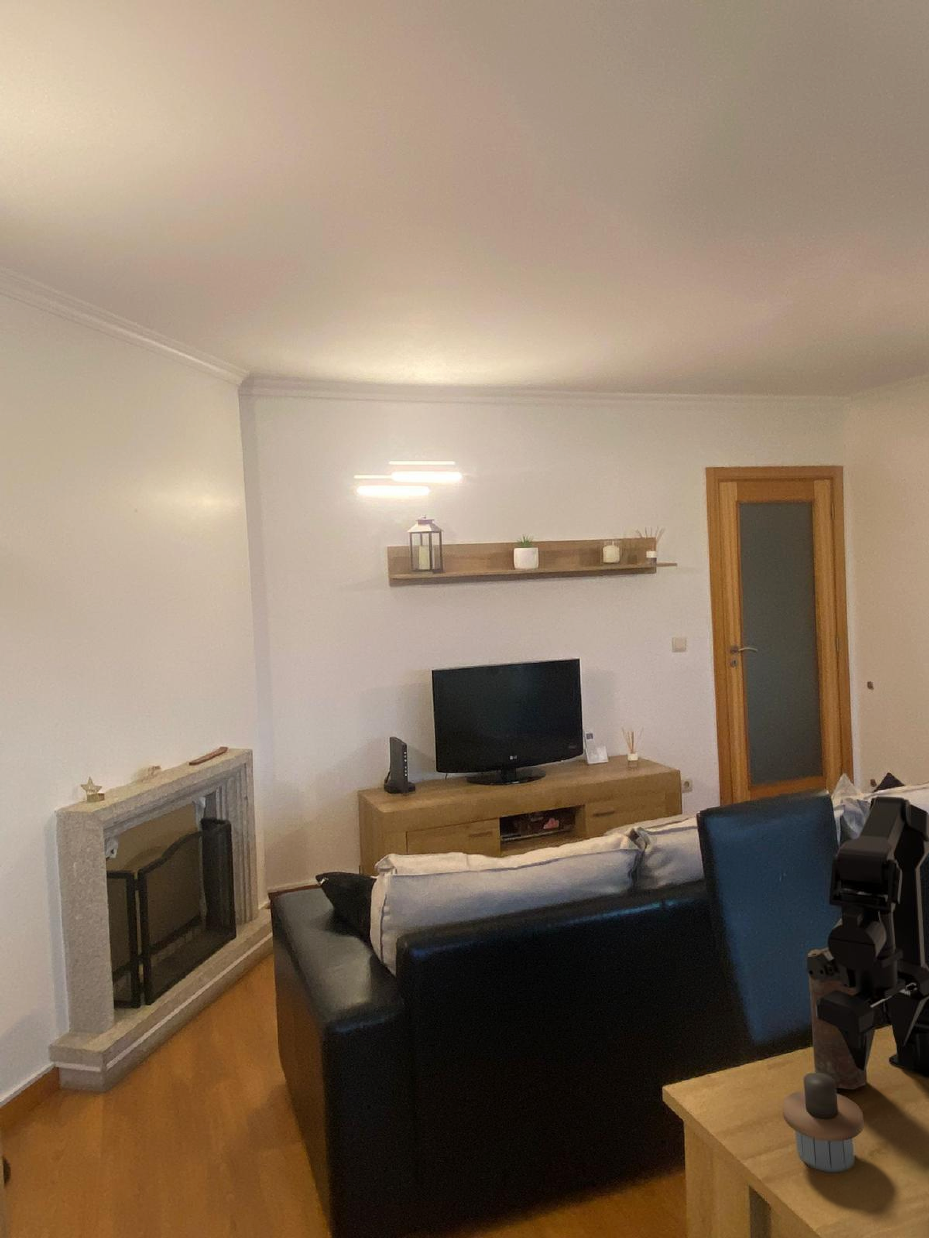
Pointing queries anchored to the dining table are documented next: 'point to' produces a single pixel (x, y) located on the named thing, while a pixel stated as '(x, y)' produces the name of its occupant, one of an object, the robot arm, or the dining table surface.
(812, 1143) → the pot
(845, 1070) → the candle
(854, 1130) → the lid
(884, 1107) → the dining table surface
